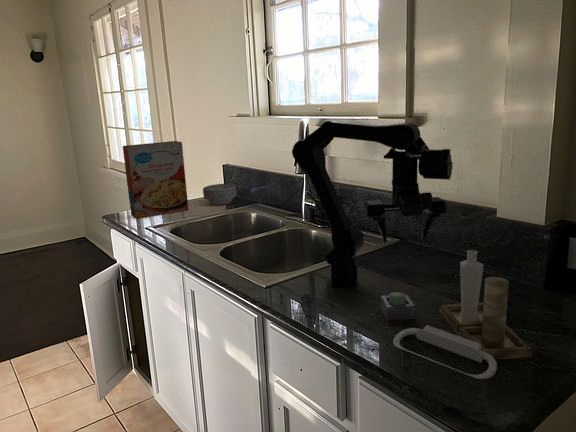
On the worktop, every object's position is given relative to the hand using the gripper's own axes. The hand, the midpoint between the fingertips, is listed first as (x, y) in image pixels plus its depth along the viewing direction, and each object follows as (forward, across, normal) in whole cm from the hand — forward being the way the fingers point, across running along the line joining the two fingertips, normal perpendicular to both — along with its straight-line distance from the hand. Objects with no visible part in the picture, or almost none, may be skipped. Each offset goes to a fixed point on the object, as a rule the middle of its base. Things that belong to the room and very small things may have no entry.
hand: (403, 241), depth 120 cm
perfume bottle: (+12, +9, -19) cm, 24 cm away
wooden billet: (+12, +10, -30) cm, 33 cm away
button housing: (+13, -5, -14) cm, 20 cm away
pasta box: (+13, -81, +98) cm, 128 cm away
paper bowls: (+13, -56, +112) cm, 126 cm away
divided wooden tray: (+13, +10, -24) cm, 29 cm away
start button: (+12, -5, -14) cm, 19 cm away
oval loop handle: (+13, -1, -32) cm, 34 cm away
